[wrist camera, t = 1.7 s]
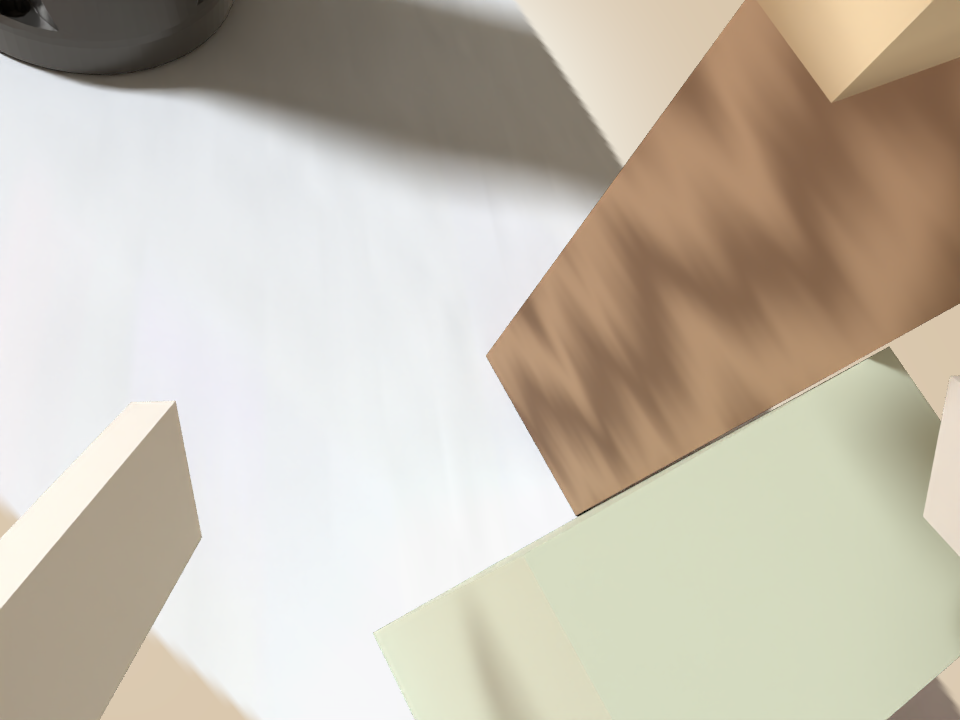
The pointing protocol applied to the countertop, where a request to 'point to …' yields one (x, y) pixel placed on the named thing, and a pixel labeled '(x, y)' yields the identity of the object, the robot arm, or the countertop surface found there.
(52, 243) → the countertop surface
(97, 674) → the robot arm
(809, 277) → the walnut post
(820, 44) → the tan tall block
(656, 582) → the sage box
